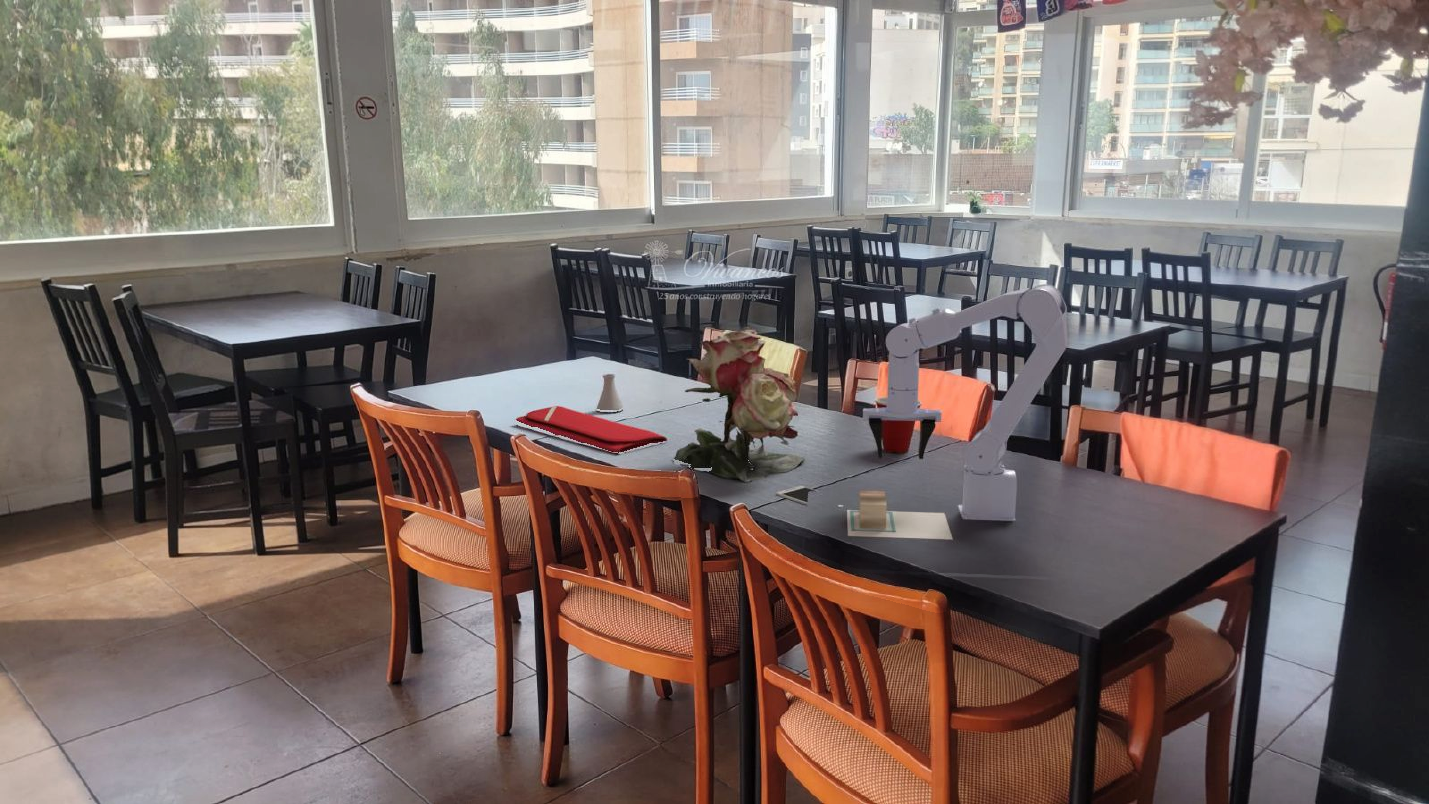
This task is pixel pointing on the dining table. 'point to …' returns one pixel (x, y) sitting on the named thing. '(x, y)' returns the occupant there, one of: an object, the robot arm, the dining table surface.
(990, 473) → the robot arm
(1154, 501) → the dining table surface
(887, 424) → the plastic cup
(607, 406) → the flask
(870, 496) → the block
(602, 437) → the dish drying mat
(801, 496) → the smartphone
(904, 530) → the mat
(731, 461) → the rose bouquet
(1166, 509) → the dining table surface
